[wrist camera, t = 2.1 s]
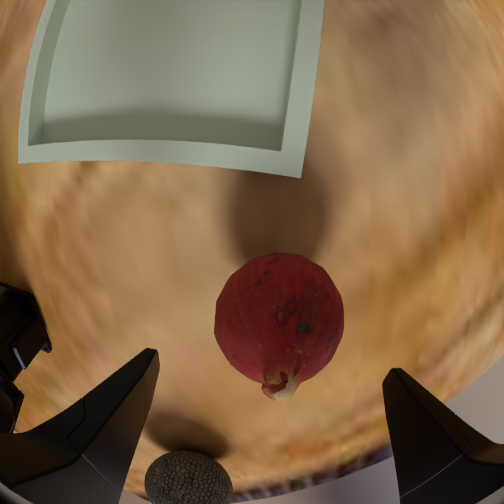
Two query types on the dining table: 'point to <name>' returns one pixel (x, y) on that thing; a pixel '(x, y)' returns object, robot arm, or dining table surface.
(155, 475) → the decorative ball
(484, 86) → the dining table surface
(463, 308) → the dining table surface
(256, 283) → the onion
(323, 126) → the dining table surface
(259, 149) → the tray
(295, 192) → the dining table surface
